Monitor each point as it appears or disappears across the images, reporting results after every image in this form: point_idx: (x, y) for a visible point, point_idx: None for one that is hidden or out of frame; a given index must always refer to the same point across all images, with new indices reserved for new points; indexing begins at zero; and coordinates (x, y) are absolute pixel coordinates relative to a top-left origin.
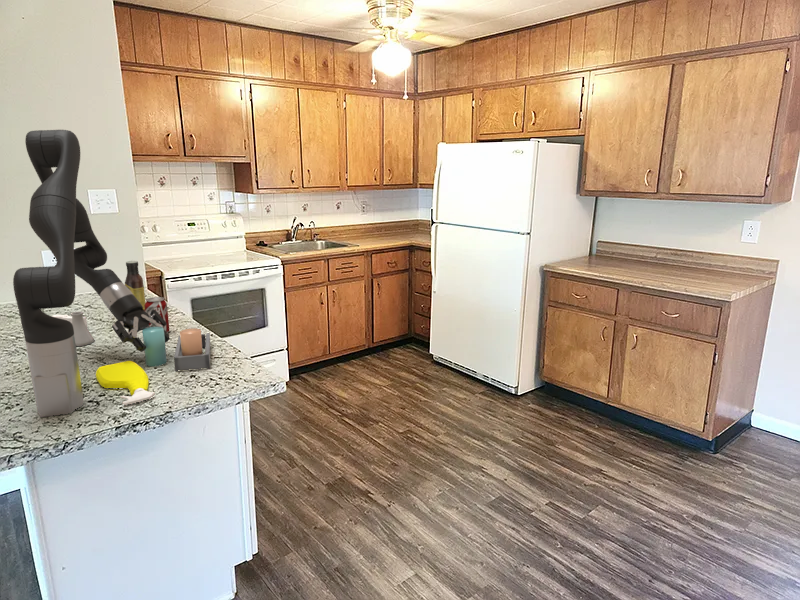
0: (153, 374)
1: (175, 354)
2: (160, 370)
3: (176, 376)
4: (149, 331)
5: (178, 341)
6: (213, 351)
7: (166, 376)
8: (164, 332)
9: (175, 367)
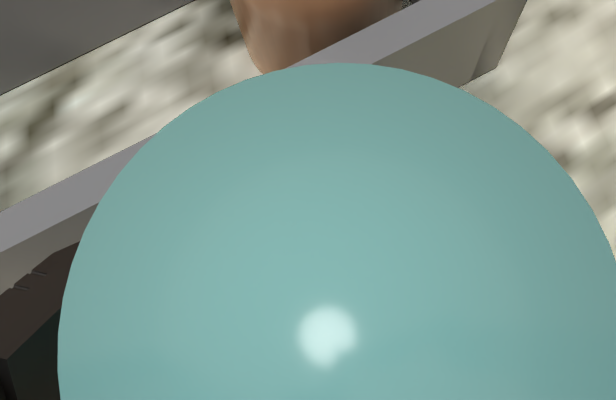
0: (609, 199)
1: (434, 23)
2: None
3: (574, 10)
4: (507, 306)
5: (25, 226)
6: None
7: (604, 76)
8: (52, 287)
9: (502, 41)
